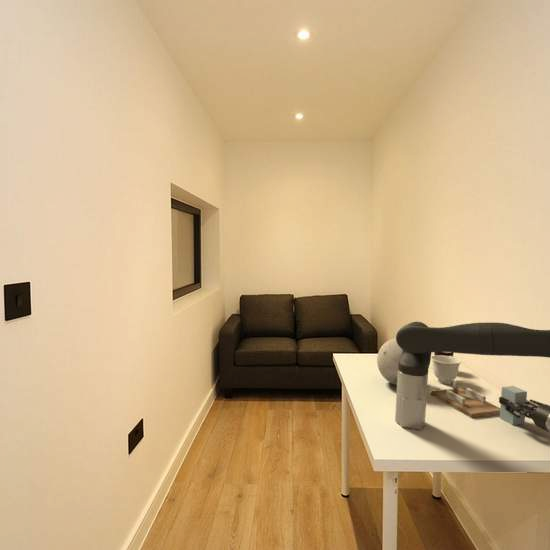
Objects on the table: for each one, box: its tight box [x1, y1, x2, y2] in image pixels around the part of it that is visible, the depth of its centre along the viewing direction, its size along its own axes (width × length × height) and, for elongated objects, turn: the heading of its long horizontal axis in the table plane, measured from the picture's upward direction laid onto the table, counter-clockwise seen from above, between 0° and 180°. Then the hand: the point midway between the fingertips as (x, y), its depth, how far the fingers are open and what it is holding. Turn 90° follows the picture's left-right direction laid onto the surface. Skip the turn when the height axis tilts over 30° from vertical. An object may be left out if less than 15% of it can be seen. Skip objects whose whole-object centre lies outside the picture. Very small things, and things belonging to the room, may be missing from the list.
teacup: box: [431, 355, 462, 385], centre depth 156 cm, size 12×15×10 cm
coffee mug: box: [433, 352, 455, 357], centre depth 171 cm, size 12×9×10 cm
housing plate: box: [430, 380, 500, 419], centre depth 133 cm, size 20×14×6 cm
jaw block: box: [499, 385, 528, 426], centre depth 120 cm, size 5×5×11 cm
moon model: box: [376, 337, 402, 386], centre depth 149 cm, size 20×20×20 cm
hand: (506, 398), depth 122 cm, fingers closed on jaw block, 5 cm apart
